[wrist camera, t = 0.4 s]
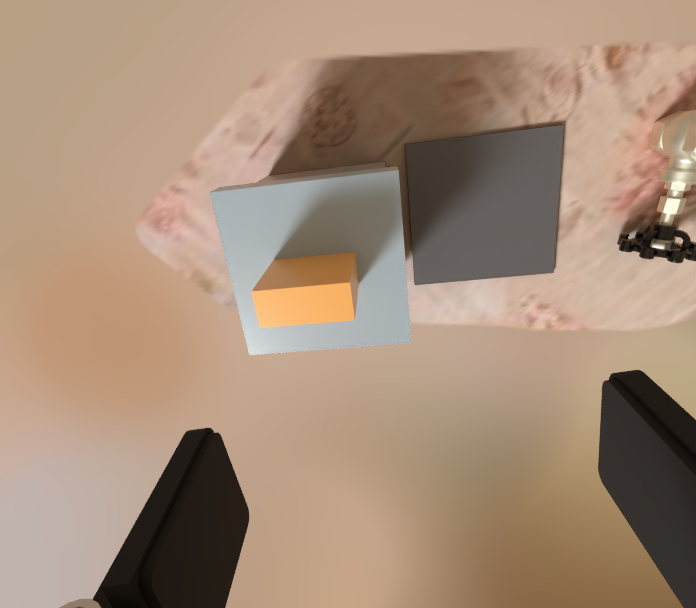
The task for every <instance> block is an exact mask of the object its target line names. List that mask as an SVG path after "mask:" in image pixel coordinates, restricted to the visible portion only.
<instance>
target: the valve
mask: <svg viewBox="0 0 696 608" xmlns="http://www.w3.org/2000/svg"><path fill="white" fill-rule="evenodd" d="M648 145H649V146H650V147H651V148H652V149H654V150H655V151H656V152H658V153H659V154H660V155H662V156H663V157H668V158H669V163H668V166H667V168H662V170H661V174H660V177H659V180H660V181H663V182H665V185H664V188H665V189H667V190H668V192H667V195H666V196H661V197H660V201H659V204H658V207H657V211H658V212H661V213H662V214H661V217H660V221H659V222H652V225H650V226H648V227H647V228H646V230H645V232H637V233H636V235H635V238H633V239H628V236H629V234H625V233H622V234H620V235H619V239H618V242H617V244H618V245H620V246H619V250H620V251H624V252H632V251H636V252H639V253H640V254H639V256H640V257H641V258H644V259H653V258H654V257H663V258H667V260H668V261H670V262H674V263H682V262H683V260H684V258H685V259H687V260H691V261H696V242H692V241H691V240H690V237H689V235H688V234H687V233H686V232H684V231H681V230H677V229H678V225H676V224H673V220H674V217H675V215H678V214H682V213H683V210H684V207H685V204H686V201H687V198H683V194H684V192H685V191H689V190H690V189H691V186H692V184H696V109H694V110H690V111H676V112H674V113H672V114H670V115H668V116H666V117H664V118H662V119H660V120H658V121H656V122H655V123H654V126H653V129H652V133H651V136H650V139H649V143H648ZM676 237H680V238H682V239H683V243H682V244H680V243H676V242H675V239H676ZM669 249H671V250H669Z"/></svg>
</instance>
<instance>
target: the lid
mask: <svg viewBox="0 0 696 608" xmlns="http://www.w3.org/2000/svg"><path fill="white" fill-rule="evenodd" d="M209 193H210V197H211V201H212V205H213V209H214V213H215V217H216V221H217V225H218V229H219V233H220V237H221V241H222V245H223V250H224V254H225V258H226V262H227V266H228V270H229V274H230V278H231V282H232V286H233V290H234V294H235V298H236V302H237V306H238V310H239V314H240V318H241V322H242V327H243V331H244V335H245V339H246V343H247V346H248V351H249V355H256V354H257V355H258V354H271V353H284V352H297V351H309V350H310V351H311V350H324V349H337V348H351V347H364V346H377V345H391V344H404V343H411V331H410V317H409V304H408V290H407V276H406V263H405V249H404V236H403V222H402V208H401V195H400V181H399V170H398V166H394V167H385V168H377V169H369V170H360V171H352V172H343V173H335V174H327V175H318V176H310V177H302V178H293V179H285V180H276V181H268V182H260V183H251V184H243V185H235V186H226V187H220V188H218V189H215V190H213V191H211V192H209Z"/></svg>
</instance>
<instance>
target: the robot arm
mask: <svg viewBox="0 0 696 608" xmlns="http://www.w3.org/2000/svg"><path fill="white" fill-rule="evenodd" d="M598 470H599V475H600V478H601V481H602V483H603V485H604V486H605V488H606V489H607V491H608V492H609V494H610V495H611V497H612V499H613V500H614V502H615V503H616V505H617V506H618V508H619V509H620V511H621V512H622V514H623V515H624V517H625V518H626V520H627V521H628V523H629V525H630V526H631V528H632V529H633V531H634V532H635V534H636V535H637V537H638V538H639V540H640V542H641V543H642V544H643V546H644V548H645V549H646V550H647V552H648V553H649V555H650V557H651V558H652V560H653V561H654V563H655V564H656V566H657V568H658V569H659V571H660V572H661V574H662V575H663V577H664V578H665V580H666V581H667V583H668V584H669V586H670V588H671V589H672V590H673V592H674V594H675V595H676V597H677V598H678V600H679V601H680V603H681V604H682V606H683V607H684V608H696V420H695V419H694V418H693V417H692V416H691V415H690V414H689V413H688V412H686V411H685V410H684V409H683V408H682V407H681V406H680V405H679V404H677V402H675V401H674V400H673V399H672V398H671V397H670V396H669V395H668V394H667V393H666V392H664V391H663V390H662V389H661V388H660V387H659V386H658V385H657V384H656V383H655V382H654V381H653V380H651V379H650V378H649V377H648V376H647V375H646V374H645V373H644V372H642V371H640V370H633V371H626V372H618V373H613V374H611V376H610V377H609V380H607V381H604V382H603V386H602V404H601V423H600V442H599V462H598ZM248 522H249V510H248V507H247V504H246V501H245V498H244V496H243V493H242V490H241V488H240V485H239V483H238V480H237V477H236V474H235V472H234V469H233V467H232V464H231V461H230V459H229V456H228V453H227V451H226V448H225V445H224V443H223V440H222V437H221V435H220V434H219V433H214V431H213V430H212V429H211V428H204V429H196V430H189V431H187V432H186V433H185V434H184V436H183V438H182V439H181V441H180V443H179V445H178V447H177V448H176V450H175V452H174V454H173V456H172V458H171V459H170V461H169V463H168V465H167V467H166V468H165V470H164V472H163V474H162V475H161V477H160V479H159V481H158V483H157V485H156V486H155V488H154V490H153V492H152V494H151V495H150V497H149V499H148V501H147V502H146V504H145V506H144V508H143V510H142V511H141V513H140V515H139V517H138V519H137V520H136V522H135V524H134V526H133V528H132V529H131V531H130V533H129V535H128V537H127V538H126V540H125V542H124V544H123V546H122V548H121V549H120V551H119V553H118V555H117V556H116V558H115V560H114V562H113V564H112V565H111V567H110V569H109V571H108V573H107V575H106V576H105V578H104V580H103V582H102V583H101V585H100V587H99V589H98V591H97V592H96V594H95V596H94V598H93V600H92V599H79V600H76V601H73V602H70V603H68V604H66V605H64V606H62V607H60V608H225V606H226V603H227V599H228V595H229V592H230V588H231V585H232V581H233V578H234V574H235V570H236V567H237V563H238V560H239V556H240V552H241V549H242V545H243V542H244V538H245V534H246V531H247V527H248Z"/></svg>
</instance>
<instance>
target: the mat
mask: <svg viewBox="0 0 696 608" xmlns="http://www.w3.org/2000/svg"><path fill="white" fill-rule="evenodd" d="M563 133H564V125H556V126H548V127H540V128H532V129H524V130H516V131H508V132H500V133H492V134H484V135H476V136H468V137H460V138H452V139H444V140H436V141H428V142H420V143H412V144H405V146H406V162H407V177H408V192H409V207H410V222H411V237H412V252H413V268H414V283H415V285H422V284H433V283H444V282H455V281H467V280H478V279H489V278H500V277H511V276H522V275H534V274H545V273H554V261H555V247H556V232H557V218H558V204H559V190H560V176H561V161H562V147H563Z"/></svg>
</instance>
